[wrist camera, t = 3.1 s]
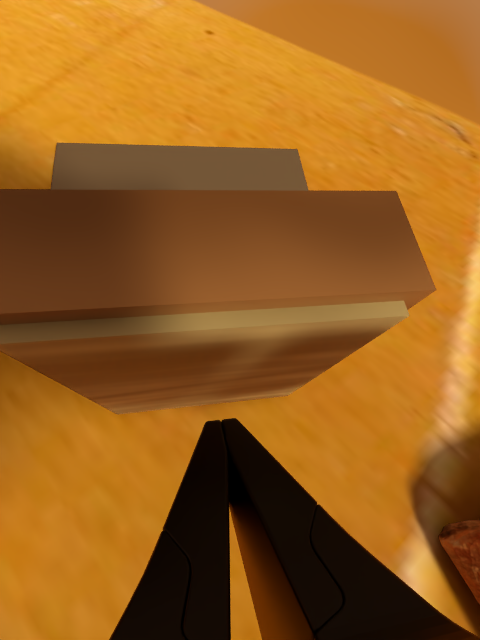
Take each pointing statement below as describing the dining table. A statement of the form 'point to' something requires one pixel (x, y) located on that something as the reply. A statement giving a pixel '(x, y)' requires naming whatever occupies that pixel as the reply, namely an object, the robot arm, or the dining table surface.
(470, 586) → the ceramic shard
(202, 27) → the dining table surface
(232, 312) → the brown wooden block
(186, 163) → the charcoal rubber mat
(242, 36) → the dining table surface
